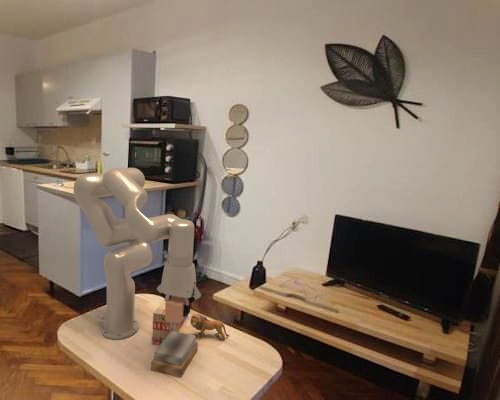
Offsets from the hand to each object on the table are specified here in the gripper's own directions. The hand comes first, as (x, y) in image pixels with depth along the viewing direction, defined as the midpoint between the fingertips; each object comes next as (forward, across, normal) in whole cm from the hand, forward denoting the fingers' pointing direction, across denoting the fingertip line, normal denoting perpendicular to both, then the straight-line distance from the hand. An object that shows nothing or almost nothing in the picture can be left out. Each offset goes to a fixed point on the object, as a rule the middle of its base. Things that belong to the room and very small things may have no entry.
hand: (177, 312), depth 107 cm
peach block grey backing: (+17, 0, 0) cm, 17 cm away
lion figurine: (+17, +6, +15) cm, 24 cm away
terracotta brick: (+1, 0, 0) cm, 1 cm away
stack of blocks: (+17, -9, +16) cm, 25 cm away
